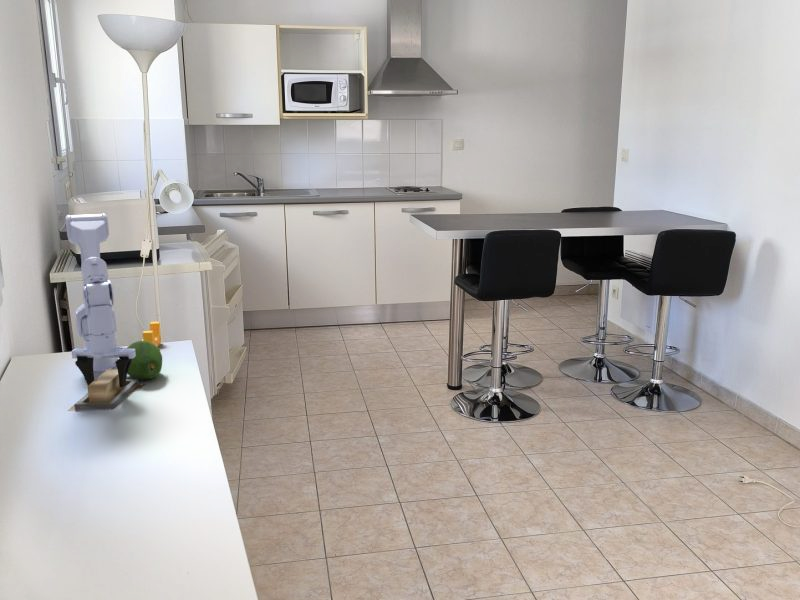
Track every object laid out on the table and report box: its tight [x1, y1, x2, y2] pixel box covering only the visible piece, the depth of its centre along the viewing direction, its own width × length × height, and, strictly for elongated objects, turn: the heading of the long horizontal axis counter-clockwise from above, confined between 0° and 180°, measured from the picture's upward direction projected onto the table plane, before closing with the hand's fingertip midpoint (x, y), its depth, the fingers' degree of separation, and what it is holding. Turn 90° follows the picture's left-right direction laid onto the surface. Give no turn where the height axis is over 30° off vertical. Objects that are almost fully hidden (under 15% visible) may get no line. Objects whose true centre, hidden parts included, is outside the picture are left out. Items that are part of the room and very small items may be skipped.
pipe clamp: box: [141, 321, 162, 348], centre depth 216 cm, size 12×4×6 cm, turn 7°
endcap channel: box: [67, 378, 146, 412], centre depth 175 cm, size 18×12×2 cm
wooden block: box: [87, 368, 125, 403], centre depth 174 cm, size 12×4×5 cm, turn 0°
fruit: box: [126, 340, 163, 381], centre depth 188 cm, size 15×10×10 cm, turn 29°
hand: (107, 385), depth 174 cm, fingers open, 7 cm apart
